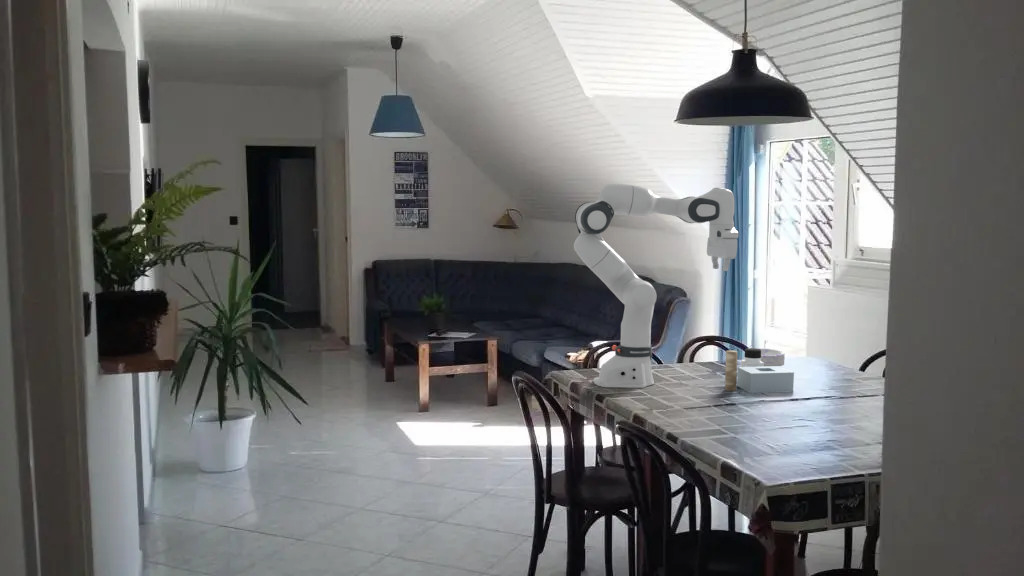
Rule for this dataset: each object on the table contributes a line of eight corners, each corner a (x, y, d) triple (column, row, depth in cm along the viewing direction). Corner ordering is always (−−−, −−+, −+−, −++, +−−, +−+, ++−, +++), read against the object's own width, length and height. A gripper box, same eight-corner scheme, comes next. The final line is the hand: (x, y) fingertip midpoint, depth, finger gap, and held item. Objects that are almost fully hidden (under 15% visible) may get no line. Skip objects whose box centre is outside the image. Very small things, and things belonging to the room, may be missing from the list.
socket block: (750, 392, 312) (751, 373, 311) (737, 385, 324) (737, 367, 323) (793, 391, 314) (793, 372, 314) (778, 384, 326) (779, 366, 325)
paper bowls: (770, 376, 342) (771, 356, 341) (737, 370, 353) (737, 351, 352) (791, 371, 352) (792, 351, 351) (758, 365, 363) (758, 346, 362)
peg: (727, 391, 315) (728, 352, 314) (723, 388, 319) (724, 350, 318) (738, 390, 316) (739, 352, 314) (733, 388, 319) (734, 350, 318)
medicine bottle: (763, 381, 331) (764, 350, 330) (744, 381, 332) (745, 350, 330) (759, 377, 339) (760, 347, 337) (740, 377, 339) (741, 346, 337)
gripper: (703, 231, 333) (702, 267, 335) (723, 233, 313) (722, 272, 315) (718, 231, 334) (717, 267, 336) (740, 233, 314) (739, 271, 316)
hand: (720, 269), depth 325 cm, fingers open, 8 cm apart
